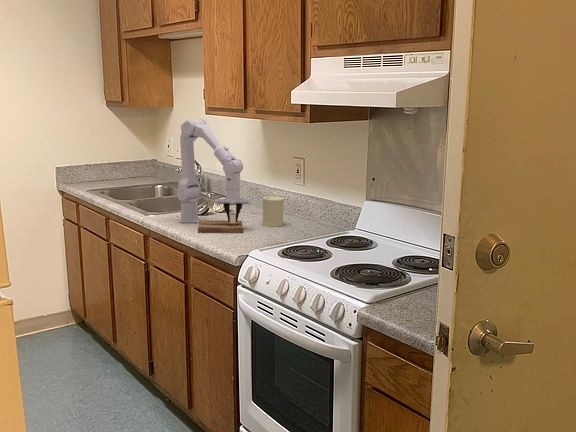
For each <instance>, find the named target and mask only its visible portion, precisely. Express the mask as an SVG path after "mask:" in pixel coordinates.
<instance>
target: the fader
mask: <svg viewBox="0 0 576 432" xmlns="http://www.w3.org/2000/svg"><path fill="white" fill-rule="evenodd" d="M229 214H230V225H236V212H229Z"/></svg>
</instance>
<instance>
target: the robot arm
mask: <svg viewBox="0 0 576 432" xmlns="http://www.w3.org/2000/svg"><path fill="white" fill-rule="evenodd" d="M180 132H181V133H180V138H179V139H180V140H179V142H180V159H181V174H182V175H181V176H182V179H181V180H180V181H179V183H178V184H177V187H178V188H177V191H176V197H177V198H178V200H179V202H180V219H179V224H181V223H182V224H184V223H185V224H186V223H187V224H192V223H197V224H199V221H200V217H198V216H199V211H198V210H199V206H198V204H199V200H200V198H201V196H202V189H201V185H200V181H198V179H197V178H196V169H195V168H196V164H195V150H194V146H195V145H194V142H195V141H196V140H197V139H198V138H202V139H203V141H205V142H206V144H208V145H209V146H210V147H211V149H212V150H213V152H214V153H213V155H214V156H215V158H216V159H217V160H218V161H219V162H220V164H221V165H222V170H223V172H224V174H225V198H216V199H215V200H214V205H223V209H224V211H225V213H226V217H227V221H228V222H230V213H231V212H230V205H235V213H236V222H237V221H239V220H238V219H239V215H240V212H241V210H242V208H243V205H248V206H249V205H251V203H252V201H251V199H250V198H249V199H248V198H241V172H242V171H244V170H243V169H244V165H243V164H244V163H243V162H242V160H241V159H239V158H236V157H235V155H233V154H232V153H231V151H230V150H229V147H228V146H226V145H222V144H221V143H220V142H219V140H218V139H217V138H216V136H215V134H213V132H212V131H211V129H210V124H208V123H207V121H206V120H204V119H186V120H184V122H183V123H182V124H181V125H180Z"/></svg>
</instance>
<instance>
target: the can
mask: <svg viewBox="0 0 576 432" xmlns="http://www.w3.org/2000/svg"><path fill="white" fill-rule="evenodd" d="M284 200H285V198H284V197H281V196H264V197H262V224H261V225H263V226H264V227H269V228H270V227H271V228H274V227H276V228H279V227H282V226H284V205H285V204H284Z"/></svg>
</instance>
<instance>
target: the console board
mask: <svg viewBox="0 0 576 432" xmlns="http://www.w3.org/2000/svg"><path fill="white" fill-rule="evenodd" d="M243 225H244V224H243V221H242V220H237V222H236V225H230V222H228V220H199V222H198V226H197V233H198V234H243V232H244V227H243Z"/></svg>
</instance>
